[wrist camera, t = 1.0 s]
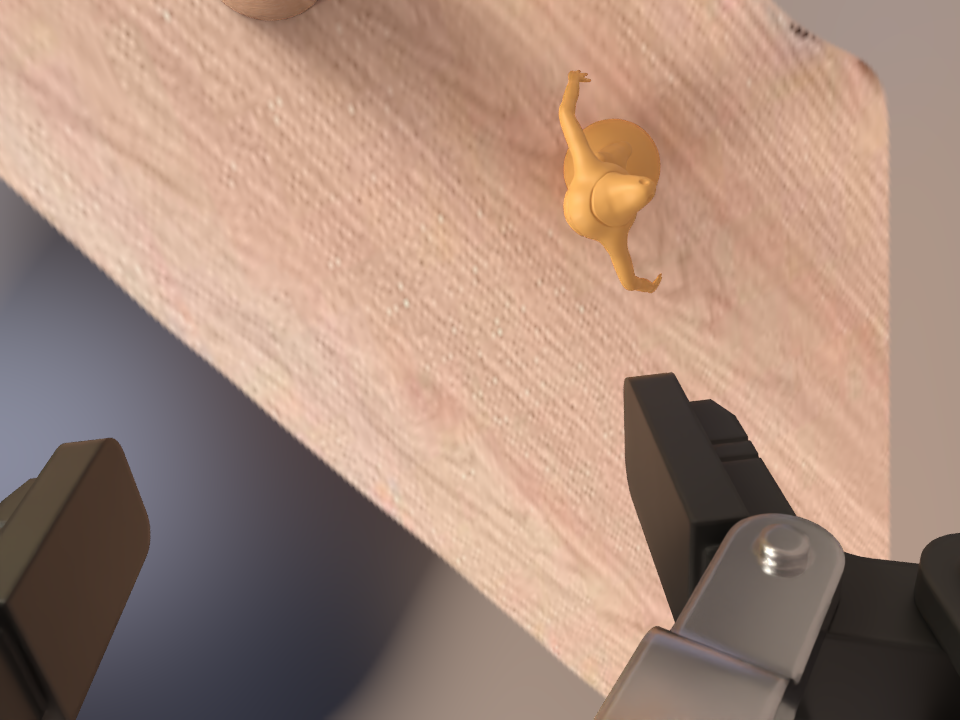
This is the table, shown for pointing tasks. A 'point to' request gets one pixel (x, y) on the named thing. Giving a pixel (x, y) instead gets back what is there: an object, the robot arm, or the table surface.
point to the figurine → (607, 181)
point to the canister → (269, 8)
